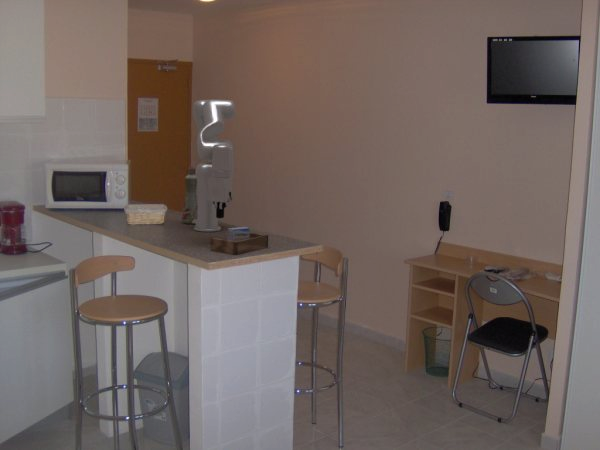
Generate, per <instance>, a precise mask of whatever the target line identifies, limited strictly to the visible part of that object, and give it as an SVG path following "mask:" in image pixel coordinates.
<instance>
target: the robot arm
mask: <svg viewBox="0 0 600 450" xmlns="http://www.w3.org/2000/svg"><path fill="white" fill-rule="evenodd" d="M236 111H237V108H236V105H235V102H234V101H233V100H230V99H200V100H199V99H198V100H196V101H195V102H194V103H193V104H192V114H193V119H194V122H195V124H196V127H197V138H196V147H197V153H198V157H199V158H200V159H201V160H204V161H205V160H206V161H205V162H200V163H199V164H197V166H196V167H195V175H196V177H197V203H198V210H197V219H194V220H193V221H192V223H194V224H193V225H195V226H193V231H197V232H204V233H205V232H208V233H209V232H211V233H212V232H219V231H221V230H222V227H221V226H219V225H218V224H219V219H224V217H225V209H226V208H227V207H228V206H232V201H233V183H232V182H233V180H234V176H235V175H234V173H235V168H234V167H235V165H234V148H233V147H234V146H233V143H232V142H231V140H230V139H229V140H228V139H225V138H223V139H220V138H219V139H218V137H217V136H218V135H221V134H222V133H223V132H224V131H225V128H226V124H225V120H233V119H234V118H235V116H236V113H237V112H236ZM208 161H211V162H208Z"/></svg>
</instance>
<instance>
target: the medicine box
mask: <svg viewBox="0 0 600 450" xmlns="http://www.w3.org/2000/svg"><path fill="white" fill-rule="evenodd" d="M249 232H250V227H247V226H238V227H228V228H227V240H229V241H235V242H236V241H241V240H245V239H249Z"/></svg>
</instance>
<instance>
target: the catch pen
mask: <svg viewBox="0 0 600 450" xmlns="http://www.w3.org/2000/svg"><path fill="white" fill-rule="evenodd" d="M209 246H210V251H212V250H214V251H213V252H217V251H218V252H219V253H225V254H228V253H229V255H233V256H234V255H235V256H236V255H237V256H238V255H240V254H245V253H249V252H253V251H256V250H262V249H265V248H269V235H268V234H262V233H256V232H250V231H249V239H245V240H241V241H236V242H235V241H229V240H228V239H222V238H216V237H211V238H210V245H209Z"/></svg>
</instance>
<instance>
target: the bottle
mask: <svg viewBox="0 0 600 450" xmlns="http://www.w3.org/2000/svg"><path fill="white" fill-rule="evenodd" d="M184 180H185V188H186V190H185V197H184V202H183V207H182V211H181V213H182V214H181V221H180V222H182V224H185V225H195V224H194V223H192V221H193V220H194V219H197V210H198V196H197V188H198V186H197V177H196V167H194V166H191V167H188V174H187V175H185V178H184Z"/></svg>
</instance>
